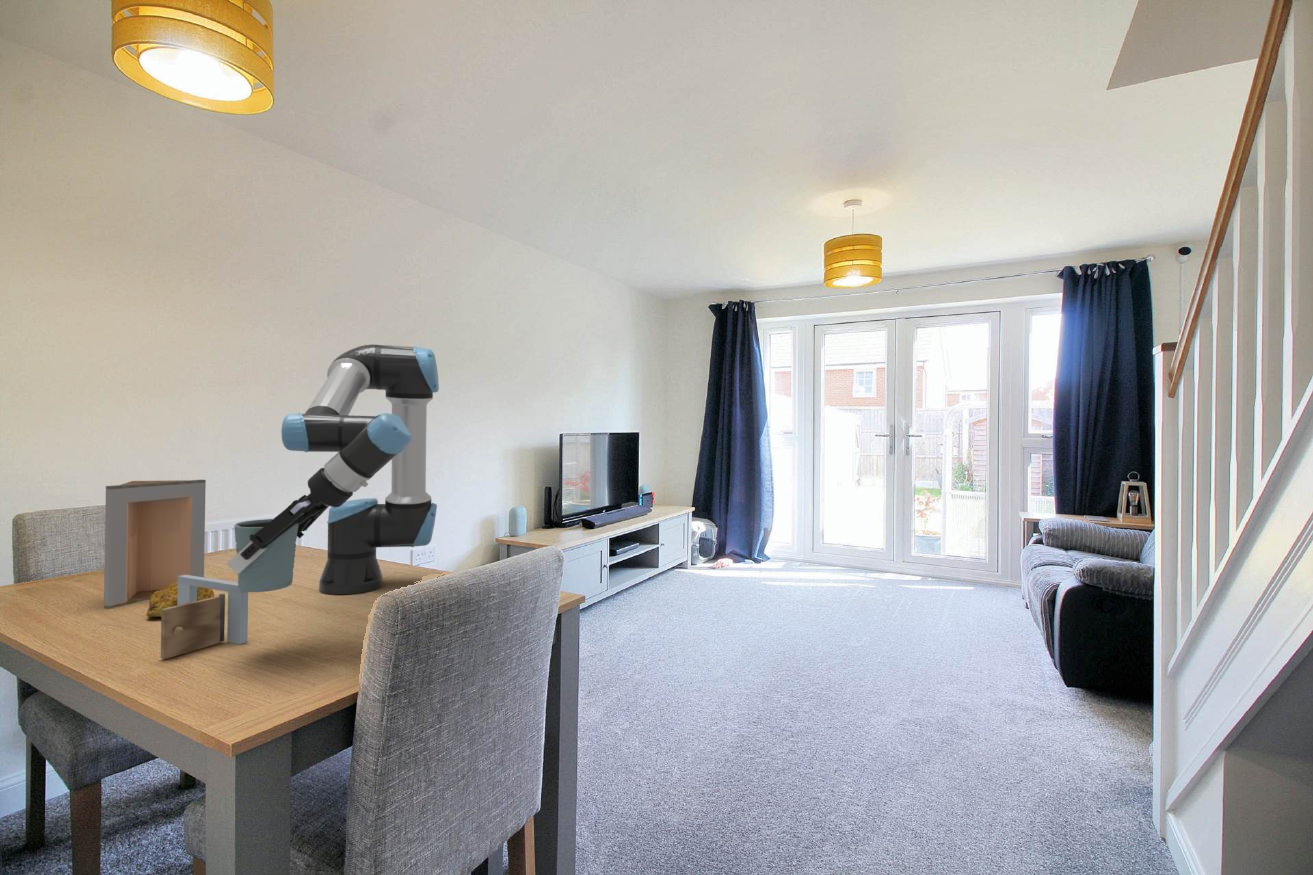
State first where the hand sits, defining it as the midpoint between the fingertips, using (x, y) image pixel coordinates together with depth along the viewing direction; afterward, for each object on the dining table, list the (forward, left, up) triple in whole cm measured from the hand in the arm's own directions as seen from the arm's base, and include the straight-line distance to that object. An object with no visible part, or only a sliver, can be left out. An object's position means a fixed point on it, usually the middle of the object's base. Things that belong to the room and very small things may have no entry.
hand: (249, 561), depth 112 cm
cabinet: (+33, -50, -18) cm, 63 cm away
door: (+9, -4, -17) cm, 20 cm away
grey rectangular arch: (+9, -12, -17) cm, 23 cm away
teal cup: (-3, +1, -5) cm, 6 cm away
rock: (+20, -32, -18) cm, 42 cm away
